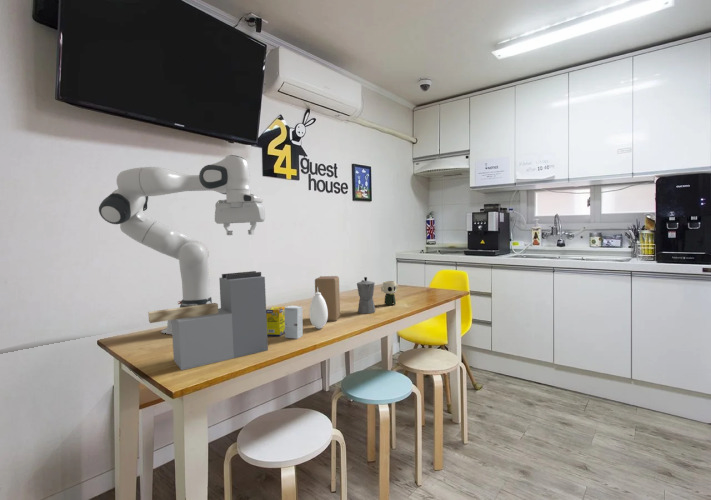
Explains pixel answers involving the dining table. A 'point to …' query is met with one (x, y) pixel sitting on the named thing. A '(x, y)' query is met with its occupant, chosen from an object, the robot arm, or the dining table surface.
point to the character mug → (389, 291)
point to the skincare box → (293, 322)
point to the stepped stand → (225, 324)
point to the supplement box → (275, 321)
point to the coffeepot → (366, 296)
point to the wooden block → (329, 294)
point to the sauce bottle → (318, 311)
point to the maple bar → (182, 312)
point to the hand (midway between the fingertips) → (240, 234)
